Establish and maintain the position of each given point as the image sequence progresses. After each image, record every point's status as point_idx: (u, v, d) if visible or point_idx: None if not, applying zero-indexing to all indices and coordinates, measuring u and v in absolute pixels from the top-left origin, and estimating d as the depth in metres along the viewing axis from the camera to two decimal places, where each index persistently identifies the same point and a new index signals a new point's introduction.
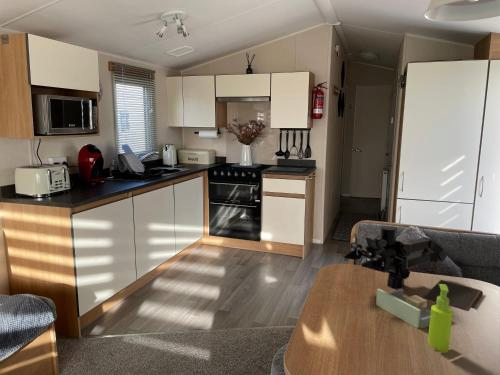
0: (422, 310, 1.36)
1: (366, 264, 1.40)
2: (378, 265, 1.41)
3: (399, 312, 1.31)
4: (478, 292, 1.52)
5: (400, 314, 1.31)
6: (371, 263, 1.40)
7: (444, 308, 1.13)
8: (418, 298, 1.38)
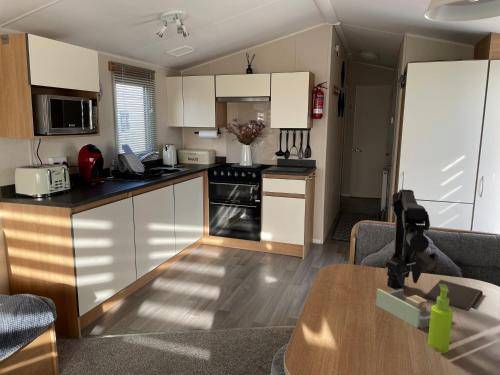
0: (422, 310, 1.36)
1: None
2: None
3: (399, 312, 1.31)
4: (478, 292, 1.52)
5: (400, 314, 1.31)
6: None
7: (444, 308, 1.13)
8: (418, 298, 1.38)
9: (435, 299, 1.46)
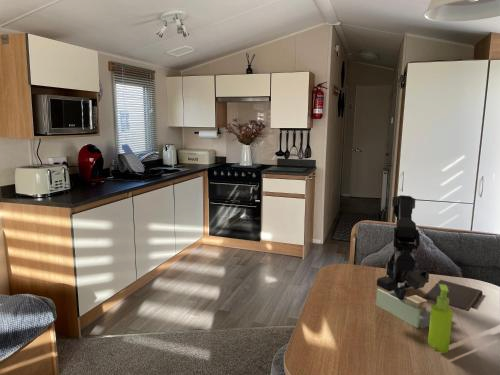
0: (422, 310, 1.36)
1: None
2: None
3: (399, 312, 1.31)
4: (478, 292, 1.52)
5: (400, 314, 1.31)
6: None
7: (445, 308, 1.13)
8: (418, 298, 1.38)
9: (435, 299, 1.46)
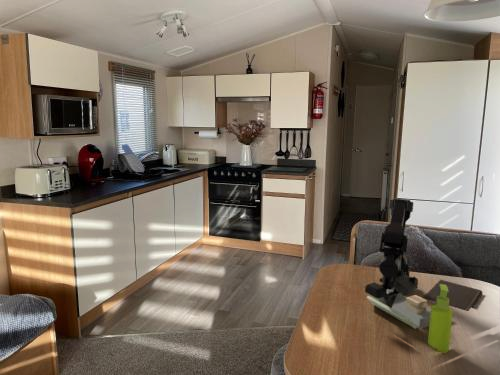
0: (422, 310, 1.36)
1: None
2: None
3: (394, 316, 1.31)
4: (478, 292, 1.52)
5: (397, 317, 1.30)
6: None
7: (444, 308, 1.13)
8: (418, 298, 1.38)
9: (435, 299, 1.46)
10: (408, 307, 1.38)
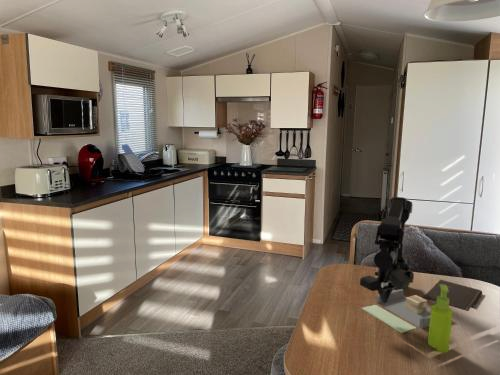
0: (422, 310, 1.36)
1: None
2: None
3: None
4: (478, 292, 1.52)
5: None
6: None
7: (445, 308, 1.13)
8: (418, 298, 1.38)
9: (435, 299, 1.46)
10: (408, 307, 1.38)
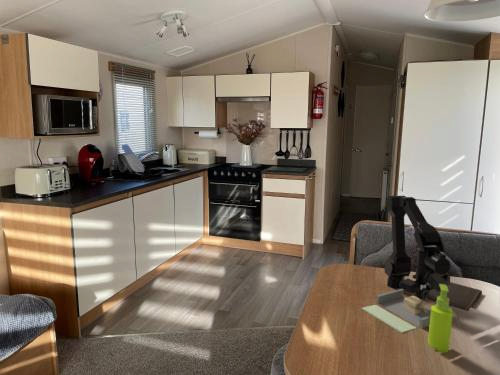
0: (420, 311, 1.35)
1: None
2: None
3: None
4: (477, 292, 1.52)
5: None
6: None
7: (445, 308, 1.13)
8: (416, 299, 1.37)
9: (435, 299, 1.46)
10: (406, 308, 1.37)
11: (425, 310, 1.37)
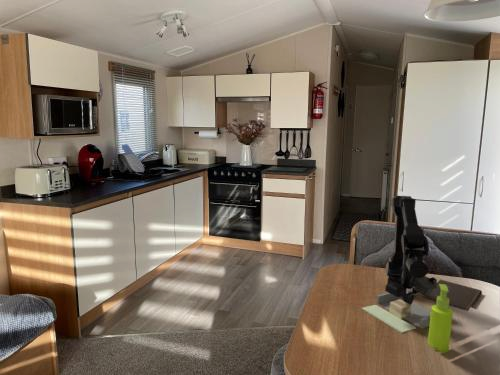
0: (406, 315, 1.32)
1: None
2: None
3: None
4: (477, 292, 1.52)
5: None
6: None
7: (444, 308, 1.13)
8: (402, 303, 1.34)
9: (435, 299, 1.46)
10: (392, 312, 1.34)
11: (425, 310, 1.37)
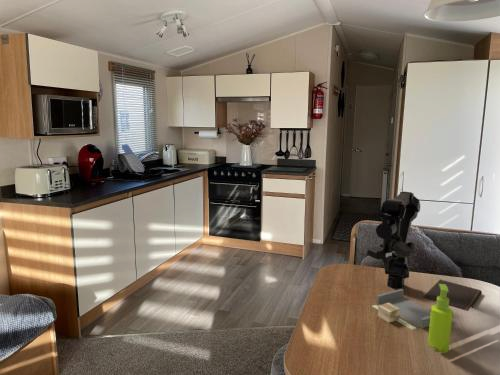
0: (395, 319, 1.30)
1: None
2: None
3: None
4: (477, 292, 1.52)
5: None
6: None
7: (444, 308, 1.13)
8: (391, 306, 1.31)
9: (435, 299, 1.46)
10: (380, 316, 1.32)
11: (425, 310, 1.37)
